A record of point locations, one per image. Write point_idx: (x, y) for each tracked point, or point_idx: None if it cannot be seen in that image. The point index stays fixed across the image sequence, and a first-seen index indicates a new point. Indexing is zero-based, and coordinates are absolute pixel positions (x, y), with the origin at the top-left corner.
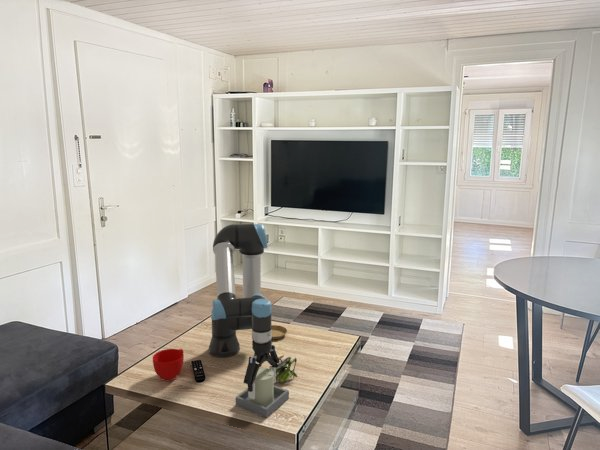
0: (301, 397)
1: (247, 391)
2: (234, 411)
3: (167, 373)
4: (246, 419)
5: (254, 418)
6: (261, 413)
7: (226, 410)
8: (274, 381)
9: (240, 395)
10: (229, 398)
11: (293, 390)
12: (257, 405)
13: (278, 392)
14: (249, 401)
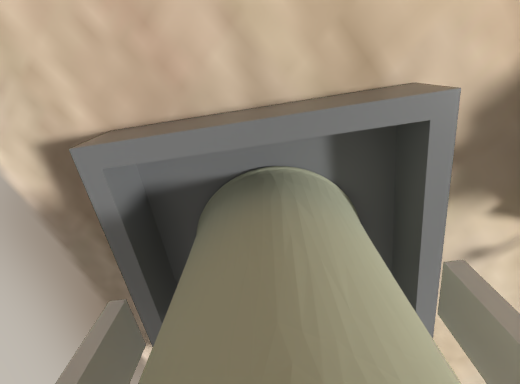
0: (450, 351)
1: (226, 148)
2: (67, 179)
3: None
4: (92, 283)
5: (133, 304)
6: None
7: (21, 128)
8: (447, 327)
9: (122, 163)
10: (118, 3)
11: (499, 287)
12: (153, 339)
13: (401, 287)
14: (136, 274)
